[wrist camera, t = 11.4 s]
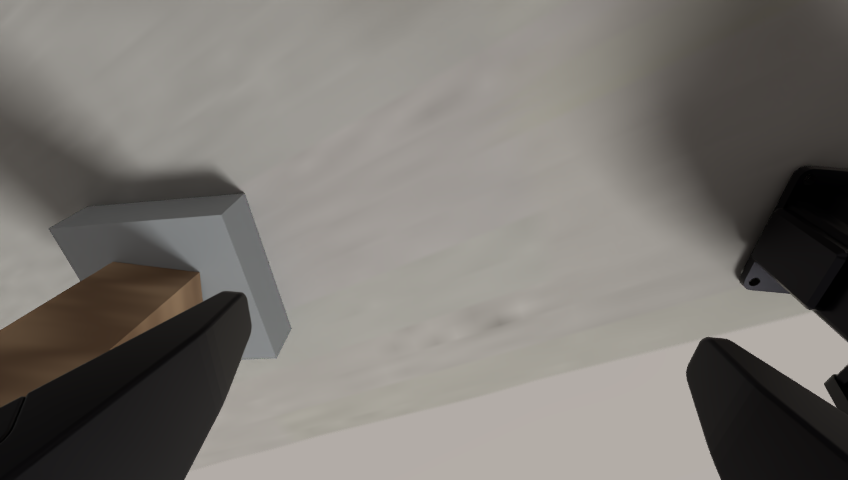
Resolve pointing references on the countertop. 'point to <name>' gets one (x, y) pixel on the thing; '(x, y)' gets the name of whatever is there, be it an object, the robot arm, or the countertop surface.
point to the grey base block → (185, 252)
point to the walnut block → (90, 322)
